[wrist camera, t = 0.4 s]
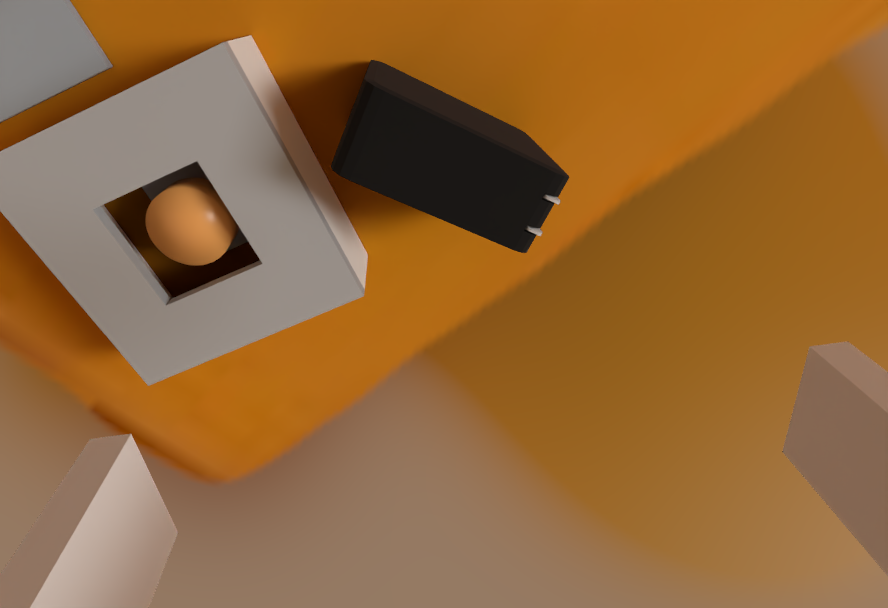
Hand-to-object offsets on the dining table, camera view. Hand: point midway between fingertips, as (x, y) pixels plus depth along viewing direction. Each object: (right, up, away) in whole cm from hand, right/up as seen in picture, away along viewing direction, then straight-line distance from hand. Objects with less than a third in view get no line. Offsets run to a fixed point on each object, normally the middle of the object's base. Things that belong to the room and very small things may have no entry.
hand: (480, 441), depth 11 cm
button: (-15, +8, +21) cm, 27 cm away
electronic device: (-1, +13, +23) cm, 26 cm away
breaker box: (-15, +9, +23) cm, 29 cm away
